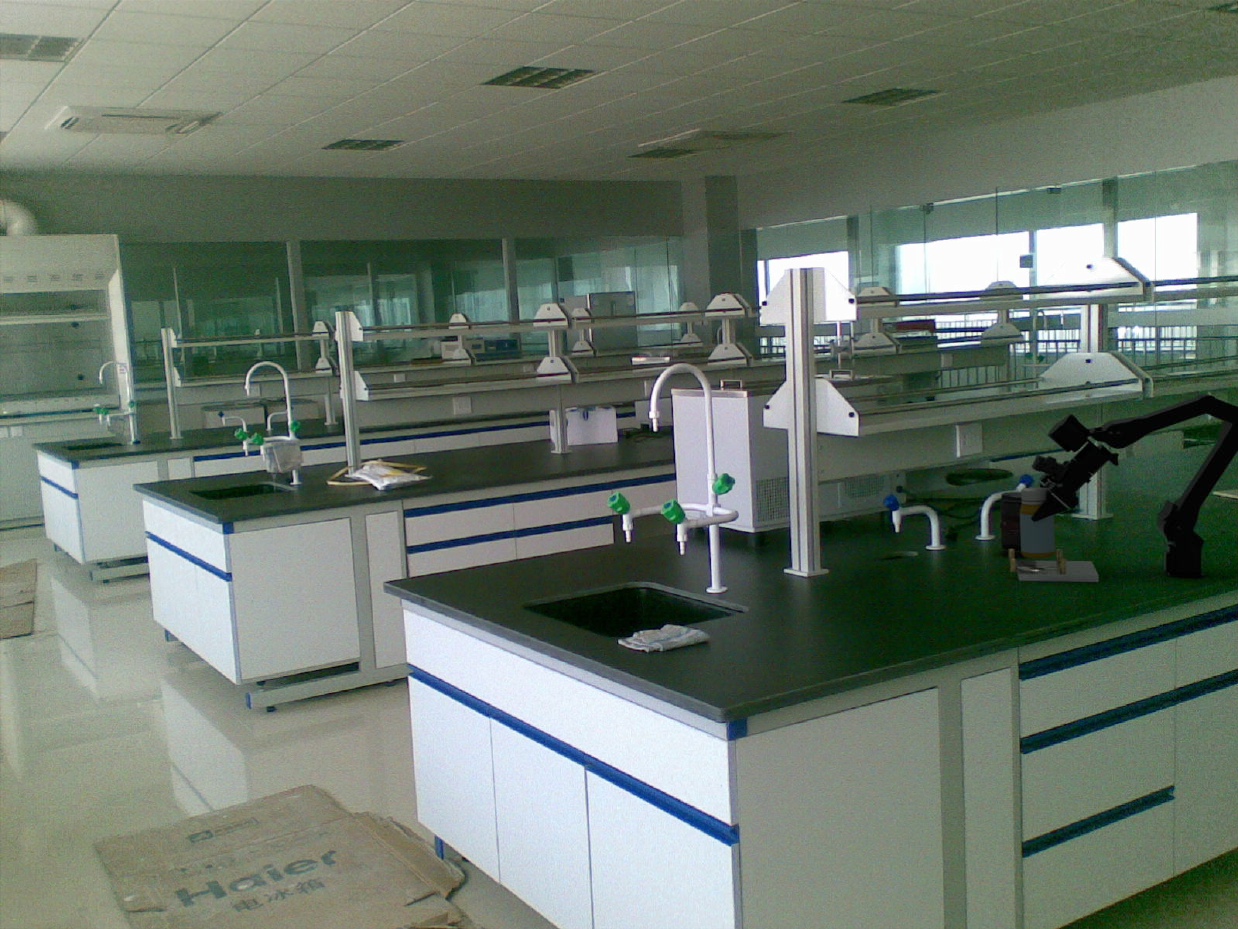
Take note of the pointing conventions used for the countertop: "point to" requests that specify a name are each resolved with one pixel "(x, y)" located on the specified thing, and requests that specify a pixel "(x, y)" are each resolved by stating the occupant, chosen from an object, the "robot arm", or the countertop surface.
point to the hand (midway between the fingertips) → (1030, 517)
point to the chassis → (1053, 569)
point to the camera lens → (1011, 523)
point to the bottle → (1035, 526)
